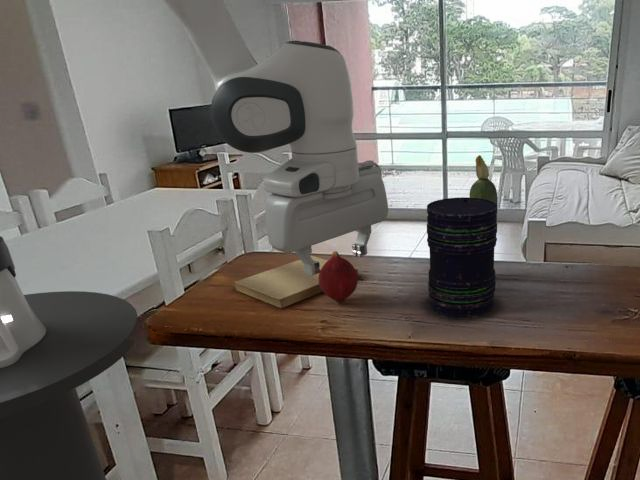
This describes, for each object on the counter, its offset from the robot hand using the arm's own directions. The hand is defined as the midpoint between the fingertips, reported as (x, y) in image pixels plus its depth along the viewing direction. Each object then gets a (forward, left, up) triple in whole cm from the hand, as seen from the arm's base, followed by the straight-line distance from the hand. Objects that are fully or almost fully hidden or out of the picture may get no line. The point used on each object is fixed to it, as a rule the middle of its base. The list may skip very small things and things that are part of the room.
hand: (337, 264), depth 85 cm
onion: (0, 0, -6) cm, 6 cm away
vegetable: (+21, -12, -6) cm, 25 cm away
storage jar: (+10, -16, -6) cm, 19 cm away
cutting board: (+1, +11, -6) cm, 13 cm away
